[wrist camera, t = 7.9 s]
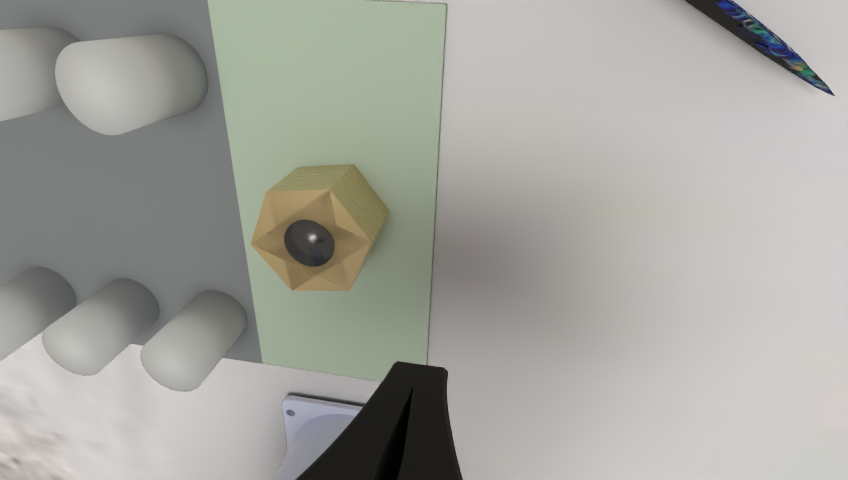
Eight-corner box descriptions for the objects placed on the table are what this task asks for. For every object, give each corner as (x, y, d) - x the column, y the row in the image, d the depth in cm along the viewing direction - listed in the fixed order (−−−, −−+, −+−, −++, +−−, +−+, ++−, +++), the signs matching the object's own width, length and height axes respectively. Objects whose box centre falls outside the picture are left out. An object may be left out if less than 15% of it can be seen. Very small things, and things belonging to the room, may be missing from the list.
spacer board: (425, 385, 25) (410, 453, 21) (-5, 320, 28) (-82, 368, 25) (446, 4, 17) (428, 5, 13) (-165, -25, 20) (-319, -31, 16)
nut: (396, 254, 21) (379, 291, 19) (293, 256, 22) (263, 291, 20) (382, 162, 19) (361, 188, 17) (271, 168, 20) (234, 193, 18)
